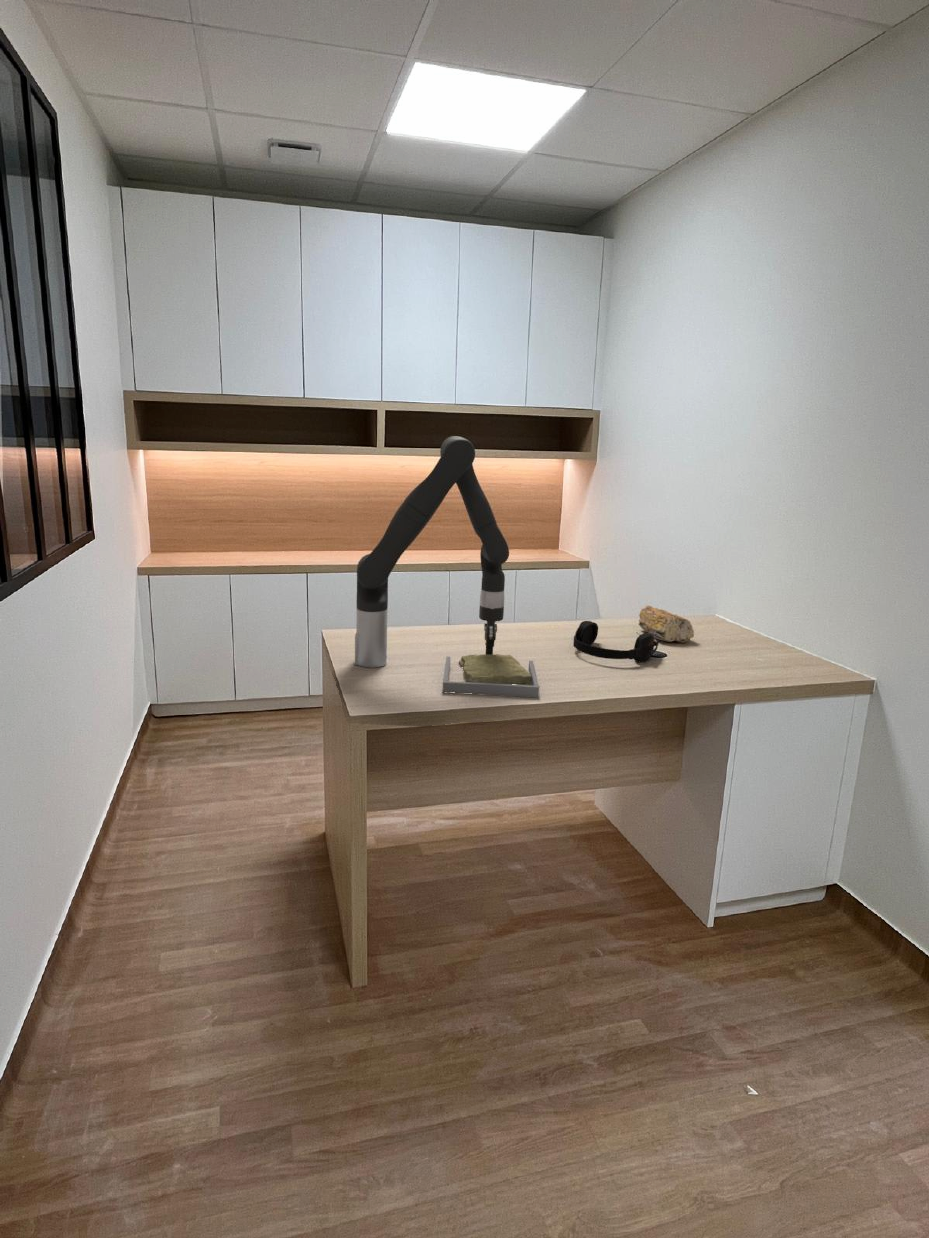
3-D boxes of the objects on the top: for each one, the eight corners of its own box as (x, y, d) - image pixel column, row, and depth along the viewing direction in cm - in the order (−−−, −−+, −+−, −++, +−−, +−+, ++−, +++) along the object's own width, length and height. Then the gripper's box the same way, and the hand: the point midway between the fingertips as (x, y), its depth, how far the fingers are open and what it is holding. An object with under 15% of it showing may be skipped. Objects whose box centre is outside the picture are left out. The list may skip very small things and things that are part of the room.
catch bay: (442, 692, 204) (442, 682, 203) (446, 665, 226) (446, 656, 226) (538, 697, 204) (539, 687, 203) (532, 670, 226) (533, 660, 225)
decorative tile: (511, 663, 233) (512, 652, 232) (531, 685, 214) (532, 673, 213) (453, 665, 229) (454, 654, 228) (469, 687, 210) (469, 676, 209)
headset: (652, 646, 257) (655, 622, 255) (663, 670, 232) (667, 643, 230) (571, 640, 260) (573, 616, 258) (573, 663, 235) (576, 637, 233)
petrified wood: (632, 629, 276) (640, 603, 275) (661, 635, 281) (669, 609, 279) (660, 642, 258) (669, 615, 257) (691, 648, 263) (699, 621, 261)
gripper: (479, 598, 234) (476, 650, 239) (480, 608, 221) (477, 663, 226) (503, 599, 234) (500, 651, 239) (505, 610, 221) (501, 664, 226)
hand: (488, 657), depth 232 cm, fingers closed
